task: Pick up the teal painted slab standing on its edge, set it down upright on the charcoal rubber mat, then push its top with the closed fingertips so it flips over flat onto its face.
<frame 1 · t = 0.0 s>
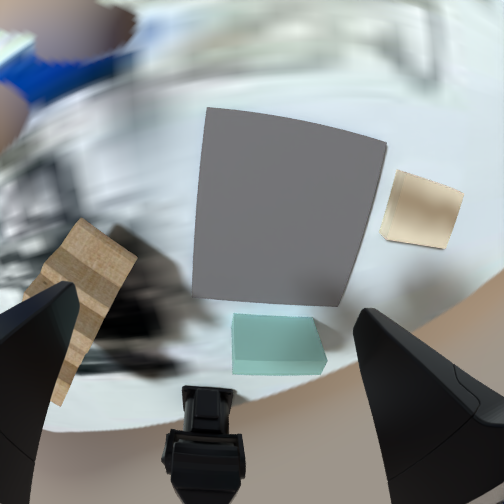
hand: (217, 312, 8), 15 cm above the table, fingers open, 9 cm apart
mat: (284, 219, 23), on the table
birch slab: (417, 207, 23), on the table
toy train: (87, 286, 25), on the table
teal slab: (272, 322, 28), on the table
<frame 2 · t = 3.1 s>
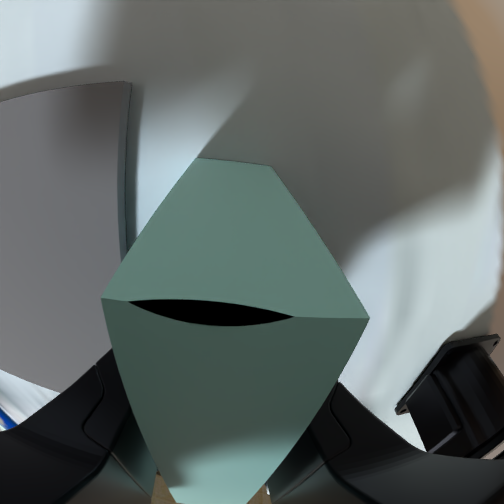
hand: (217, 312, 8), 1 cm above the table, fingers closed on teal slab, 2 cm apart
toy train: (181, 463, 18), on the table
teal slab: (218, 287, 9), on the table, touching gripper
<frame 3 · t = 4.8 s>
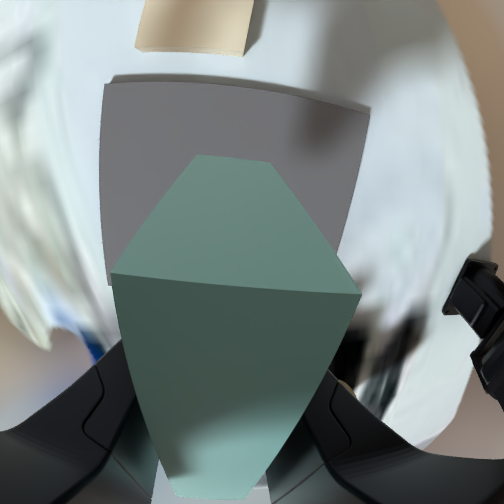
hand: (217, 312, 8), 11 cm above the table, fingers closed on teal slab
mat: (223, 200, 17), on the table
birch slab: (203, 0, 11), on the table
teal slab: (219, 281, 9), point 9 cm above the table, touching gripper
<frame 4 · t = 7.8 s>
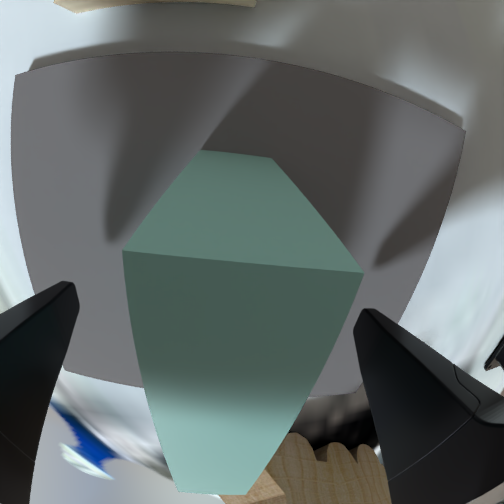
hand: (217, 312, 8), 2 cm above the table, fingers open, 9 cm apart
mat: (219, 271, 10), on the table
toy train: (310, 450, 19), on the table
teal slab: (221, 276, 9), point 1 cm above the table, touching mat
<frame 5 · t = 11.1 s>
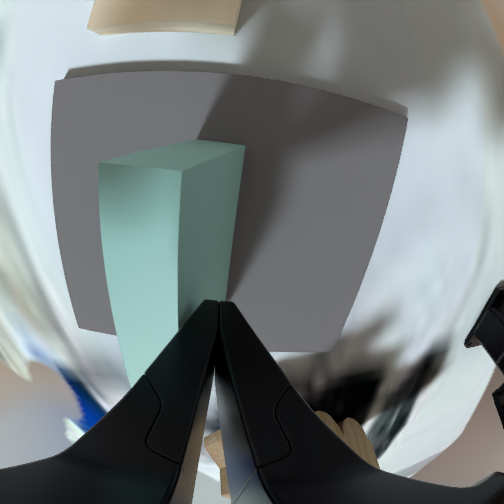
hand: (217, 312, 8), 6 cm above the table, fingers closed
mat: (210, 231, 13), on the table
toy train: (299, 420, 22), on the table
teal slab: (210, 235, 12), point 1 cm above the table, tilted 14°, touching mat
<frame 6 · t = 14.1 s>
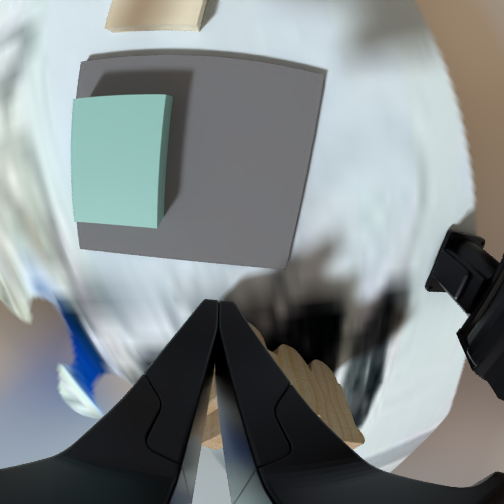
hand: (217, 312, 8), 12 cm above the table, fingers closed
mat: (183, 160, 17), on the table
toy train: (270, 358, 27), on the table
teal slab: (163, 160, 16), point 2 cm above the table, tilted 90°, touching mat
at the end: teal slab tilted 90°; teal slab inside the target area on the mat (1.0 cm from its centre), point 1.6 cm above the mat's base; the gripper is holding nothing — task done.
